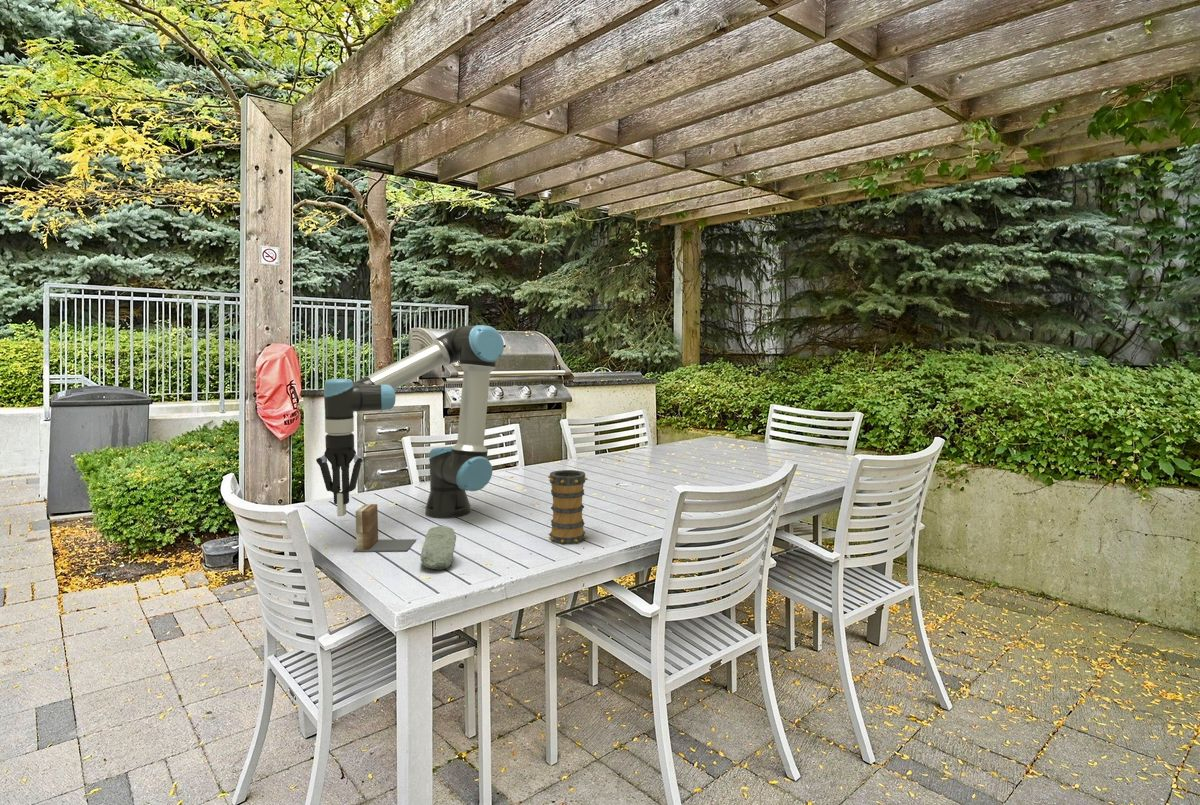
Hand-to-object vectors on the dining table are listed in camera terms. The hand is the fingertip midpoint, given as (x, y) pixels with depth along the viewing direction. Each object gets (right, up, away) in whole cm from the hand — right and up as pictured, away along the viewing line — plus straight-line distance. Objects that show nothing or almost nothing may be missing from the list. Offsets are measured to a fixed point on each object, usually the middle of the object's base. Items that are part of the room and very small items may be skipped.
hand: (341, 514), depth 179 cm
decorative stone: (+31, -11, -13) cm, 36 cm away
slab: (+7, -9, +1) cm, 11 cm away
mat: (+12, -9, +1) cm, 15 cm away
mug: (+65, -9, +11) cm, 66 cm away
